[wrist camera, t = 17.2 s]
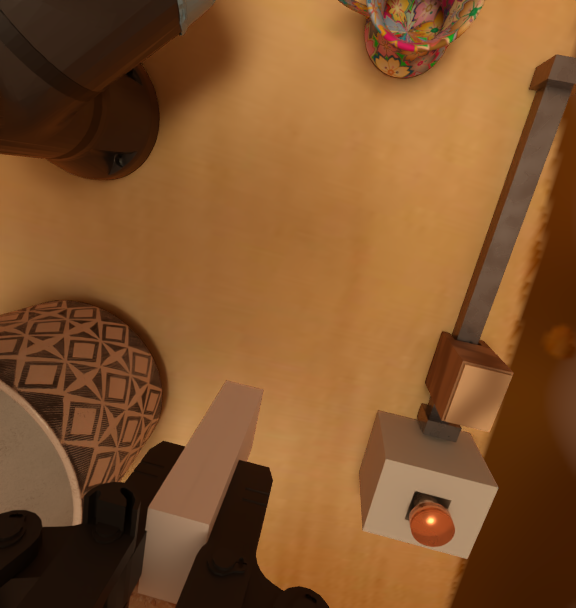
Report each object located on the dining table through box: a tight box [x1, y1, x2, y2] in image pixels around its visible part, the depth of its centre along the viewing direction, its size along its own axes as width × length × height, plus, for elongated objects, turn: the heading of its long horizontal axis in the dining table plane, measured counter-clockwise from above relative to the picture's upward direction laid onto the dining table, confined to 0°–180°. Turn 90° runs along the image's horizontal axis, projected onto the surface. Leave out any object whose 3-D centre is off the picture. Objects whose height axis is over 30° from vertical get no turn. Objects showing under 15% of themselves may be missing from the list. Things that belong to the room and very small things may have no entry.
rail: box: [417, 55, 576, 442], centre depth 44 cm, size 4×41×4 cm, turn 168°
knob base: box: [359, 410, 498, 559], centre depth 49 cm, size 12×10×10 cm
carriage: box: [425, 332, 513, 432], centre depth 45 cm, size 5×7×9 cm
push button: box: [409, 491, 455, 547], centre depth 45 cm, size 4×4×6 cm
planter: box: [0, 301, 162, 527], centre depth 47 cm, size 26×26×22 cm
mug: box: [338, 0, 485, 78], centre depth 36 cm, size 12×9×11 cm
